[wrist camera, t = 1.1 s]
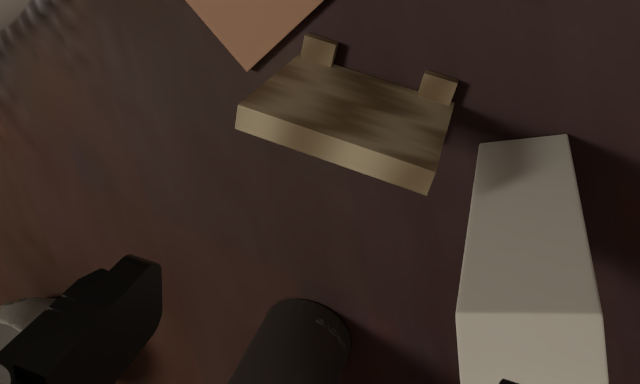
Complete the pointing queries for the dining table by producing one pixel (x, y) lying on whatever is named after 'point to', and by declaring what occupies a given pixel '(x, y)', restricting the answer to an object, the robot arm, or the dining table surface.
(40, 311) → the teacup
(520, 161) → the milk
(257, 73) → the dining table surface
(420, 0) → the dining table surface
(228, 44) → the coaster
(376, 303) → the dining table surface
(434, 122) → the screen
